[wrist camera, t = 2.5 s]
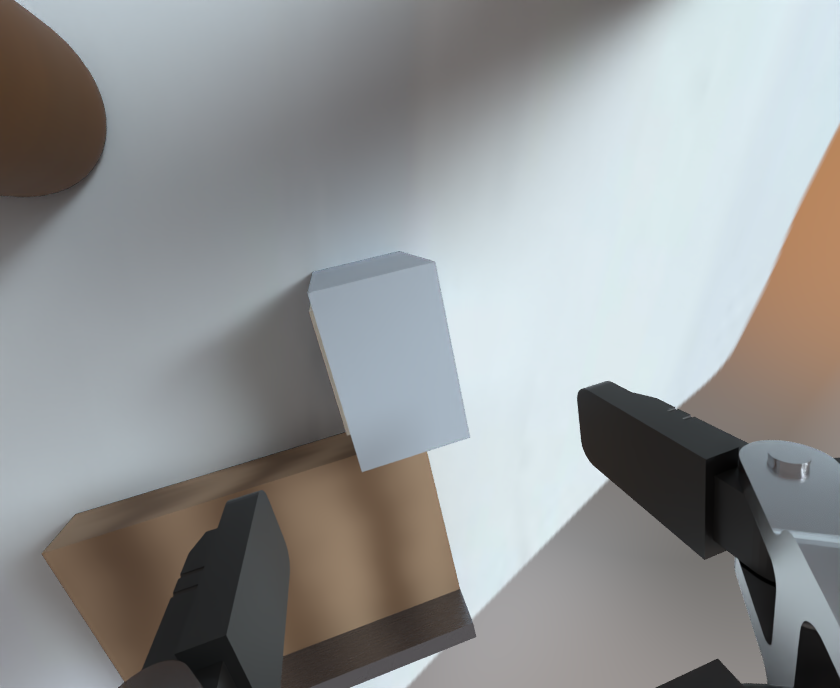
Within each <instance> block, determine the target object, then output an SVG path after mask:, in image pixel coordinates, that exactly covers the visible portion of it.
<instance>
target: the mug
mask: <svg viewBox="0 0 840 688" xmlns="http://www.w3.org/2000/svg"><path fill="white" fill-rule="evenodd" d="M105 139H106V115H105V109H104V104H103V101H102V98H101V94H100V92H99V90H98V87H97V85H96V83H95V81H94V79H93V77H92V76H91V74H90V72H89V70H88V69H87V68H86V66H85V65H84V63H83V62H82V60H81V59H80V58H79V56H78V55H77V54H76V53H75V52H74V51H73V49H72V48H71V47H70V46H69V45H68V44H67V43H66V42H65V41H64V40H63V39H62V38H61V37H60V36H59V35H58V34H57V33H56V32H54V31H53V30H52V29H51V28H50V27H49V26H47V25H46V24H45V23H43V22H42V21H41V20H39V19H38V18H37V17H36V16H34V15H33V14H32V13H30V12H29V11H28V10H26V9H25V8H24V7H22V6H21V5H20V4H18V3H17V2H16V1H14V0H0V196H14V197H33V196H43V195H48V194H52V193H56V192H59V191H62V190H65V189H67V188H69V187H71V186H73V185H75V184H77V183H78V182H79V181H81V180H82V179H83V178H85V177H86V176H87V175H88V174H89V173H90V171H91V170H92V169H93V168H94V166H95V165H96V163H97V162H98V160H99V158H100V156H101V153H102V151H103V147H104V144H105Z"/></svg>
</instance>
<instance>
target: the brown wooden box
mask: <svg viewBox="0 0 840 688" xmlns="http://www.w3.org/2000/svg"><path fill="white" fill-rule="evenodd" d="M260 490H263V491H264V492H265V493H266V495H267V497H268V499H269V501H270V504H271V506H272V509H273V512H274V514H275V517H276V519H277V522H278V524H279V527H280V529H281V532H282V535H283V537H284V540H285V542H286V546H287V549H288V554H289V561H290V578H289V590H288V602H287V614H286V626H285V638H284V650H283V662H282V674H281V686H280V688H350V687H353V686H355V685H358V684H360V683H363V682H365V681H368V680H370V679H373V678H375V677H378V676H380V675H383V674H385V673H388V672H390V671H392V670H395V669H397V668H400V667H402V666H405V665H407V664H410V663H412V662H415V661H417V660H420V659H422V658H425V657H427V656H430V655H432V654H435V653H437V652H440V651H442V650H445V649H447V648H450V647H452V646H455V645H457V644H459V643H462V642H464V641H467V640H470V639H472V638H475V637H476V634H475V630H474V625H473V622H472V619H471V617H470V614H469V611H468V609H467V606H466V603H465V601H464V598H463V596H462V593H461V590H460V587H459V583H458V579H457V575H456V570H455V566H454V562H453V558H452V554H451V550H450V545H449V541H448V537H447V533H446V529H445V525H444V521H443V516H442V512H441V508H440V504H439V500H438V496H437V491H436V487H435V483H434V479H433V475H432V471H431V467H430V462H429V458H428V454H427V451H426V452H423V453H420V454H417V455H414V456H411V457H408V458H405V459H401V460H398V461H395V462H392V463H389V464H386V465H383V466H380V467H377V468H373V469H370V470H367V471H364V472H362V471H361V467H360V464H359V461H358V457H357V454H356V451H355V448H354V444H353V441H352V438H351V435H347V434H346V432H345V433H341V434H338V435H335V436H331V437H328V438H325V439H322V440H318V441H315V442H312V443H308V444H305V445H302V446H299V447H295V448H292V449H289V450H285V451H282V452H279V453H276V454H272V455H269V456H266V457H262V458H259V459H256V460H252V461H249V462H246V463H243V464H239V465H236V466H233V467H229V468H226V469H223V470H220V471H216V472H213V473H210V474H206V475H203V476H200V477H197V478H193V479H190V480H187V481H183V482H180V483H177V484H174V485H170V486H167V487H164V488H160V489H157V490H154V491H151V492H147V493H144V494H141V495H137V496H134V497H131V498H128V499H124V500H121V501H118V502H114V503H111V504H108V505H105V506H101V507H98V508H95V509H91V510H88V511H85V512H82V513H78V514H75V516H74V517H73V518H72V519H71V520H70V521H69V523H68V524H67V525H66V526H65V527H64V528H63V529H62V531H61V532H60V533H59V534H58V535H57V536H56V538H55V539H54V540H53V541H52V542H51V543H50V544H49V546H48V547H47V548H46V549H45V550H44V551H43V553H42V556H43V557H44V559H45V560H46V562H47V563H48V565H49V566H50V568H51V569H52V571H53V572H54V574H55V576H56V577H57V579H58V580H59V582H60V583H61V585H62V586H63V588H64V589H65V591H66V592H67V594H68V596H69V597H70V599H71V600H72V602H73V603H74V605H75V606H76V608H77V609H78V611H79V612H80V614H81V615H82V617H83V619H84V620H85V622H86V623H87V625H88V626H89V628H90V629H91V631H92V632H93V634H94V635H95V637H96V639H97V640H98V642H99V643H100V645H101V646H102V648H103V649H104V651H105V652H106V654H107V655H108V657H109V659H110V660H111V662H112V663H113V665H114V666H115V668H116V669H117V671H118V672H119V674H120V675H121V677H122V679H123V680H124V682H126V681H127V680H128V679H129V678H131V677H132V676H134V675H135V674H137V673H138V672H140V671H141V670H142V668H143V665H144V663H145V660H146V658H147V655H148V653H149V650H150V648H151V645H152V643H153V640H154V638H155V635H156V633H157V630H158V628H159V625H160V623H161V620H162V618H163V616H164V613H165V611H166V608H167V606H168V603H169V601H170V598H171V597H173V591H174V588H175V586H176V583H177V581H178V579H179V578H181V576H180V573H181V571H182V569H183V566H184V564H185V561H186V559H187V556H188V554H189V552H190V551H191V550H192V548H193V547H194V546H195V545H196V543H197V542H198V541H199V540H200V539H201V537H202V536H203V535H204V534H205V532H207V531H210V530H213V529H216V528H218V525H219V522H220V519H221V516H222V513H223V510H224V507H225V504H226V502H227V501H228V500H231V499H234V498H238V497H241V496H244V495H247V494H250V493H253V492H256V491H260Z"/></svg>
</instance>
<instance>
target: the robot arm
mask: <svg viewBox="0 0 840 688" xmlns="http://www.w3.org/2000/svg"><path fill="white" fill-rule="evenodd" d="M577 402H578V412H579V423H580V433H581V442H582V447H583V450H584V452H585V454H586V456H587V458H588V459H589V461H590V462H591V463H592V465H594V466H595V467H596V468H597V469H598V470H599V471H600V472H602V473H603V474H604V475H605V476H606V477H608V478H609V479H610V480H611V481H612V482H613V483H615V484H616V485H617V486H618V487H620V488H621V489H622V490H623V491H624V492H625V493H626V494H628V495H629V496H630V497H631V498H632V499H633V500H635V501H636V502H637V503H638V504H639V505H641V506H642V507H643V508H644V509H645V510H647V511H648V512H649V513H650V514H651V515H652V516H654V517H655V518H656V519H657V520H658V521H659V522H661V523H662V524H663V525H664V526H665V527H666V528H668V529H669V530H670V531H671V532H672V533H674V534H675V535H676V536H677V537H678V538H680V539H681V540H682V541H683V542H684V543H685V544H686V545H688V546H689V547H690V548H691V549H692V550H694V551H695V552H696V553H697V554H698V555H699V556H701V557H702V558H703V559H704V560H705V559H708V558H710V557H712V556H715V555H717V554H719V553H722V552H724V551H728V552H730V553H731V554H732V555H733V556H735V565H734V568H735V573H736V576H737V579H738V583H739V586H740V589H741V592H742V595H743V598H744V601H745V604H746V608H747V611H748V614H749V617H750V620H751V623H752V627H753V630H754V633H755V636H756V639H757V643H758V646H759V649H760V652H761V655H762V658H763V662H764V667H765V671H766V677H767V684H752V683H744V684H741V683H740V682H739V681H738V680H737V679H736V678H735V676H734V675H733V674H732V673H731V672H730V671H729V670H728V669H727V668H726V667H725V666H724V665H723V664H722V663H721V661H720V660H719V659H716V660H714V661H711V662H710V663H707V664H705V665H703V666H701V667H699V668H697V669H694V670H692V671H690V672H688V673H686V674H684V675H682V676H680V677H677V678H675V679H673V680H671V681H669V682H667V683H665V684H663V685H660V686H658V687H656V688H840V458H832V457H831V456H829V455H827V454H826V453H824V452H822V451H820V450H817V449H815V448H812V447H809V446H806V445H802V444H798V443H794V442H788V441H780V440H763V441H756V442H752V443H747V442H745V441H743V440H741V439H738V438H736V437H734V436H732V435H730V434H728V433H726V432H724V431H722V430H720V429H718V428H716V427H714V426H712V425H710V424H708V423H706V422H704V421H702V420H700V419H698V418H696V417H691V416H690V414H688V413H686V412H683V411H681V410H679V409H677V410H676V409H675V407H673V406H671V405H669V404H667V403H665V402H663V401H661V400H659V399H657V398H654V397H649V396H645V395H641V394H637V393H632V392H630V391H628V390H626V389H624V388H622V387H620V386H618V385H616V384H615V383H613V382H610V381H605V382H602V383H599V384H596V385H593V386H590V387H587V388H583V389H581V390H580V391H579V392H578V395H577ZM180 576H181V578H179V579H178V581H177V583H176V586H175V588H174V591H173V597H171V598H170V601H169V603H168V606H167V608H166V611H165V613H164V616H163V618H162V620H161V623H160V625H159V628H158V630H157V633H156V635H155V638H154V640H153V643H152V645H151V648H150V650H149V653H148V655H147V658H146V660H145V663H144V665H143V668H142V670H141V671H140V672H138V673H137V674H135V675H134V676H132V677H131V678H129V679H128V680H127V681H126V682H124V683H123V684H122V685H121V686H120V687H118V688H280V686H281V674H282V662H283V650H284V638H285V626H286V614H287V602H288V590H289V578H290V561H289V554H288V549H287V546H286V542H285V540H284V537H283V535H282V532H281V529H280V527H279V524H278V522H277V519H276V517H275V514H274V512H273V509H272V506H271V504H270V501H269V499H268V497H267V495H266V493H265V492H264V491H263V490H260V491H256V492H253V493H250V494H247V495H244V496H241V497H238V498H234V499H231V500H228V501H227V502H226V504H225V507H224V510H223V513H222V516H221V519H220V522H219V525H218V528H216V529H213V530H210V531H207V532H205V534H204V535H203V536H202V537H201V539H200V540H199V541H198V542H197V543H196V545H195V546H194V547H193V548H192V550H191V551H190V552H189V554H188V556H187V559H186V561H185V564H184V566H183V569H182V571H181V573H180Z"/></svg>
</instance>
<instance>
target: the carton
mask: <svg viewBox="0 0 840 688" xmlns="http://www.w3.org/2000/svg"><path fill="white" fill-rule="evenodd" d="M308 297H309V300H310V308H309V314H310V318H311V321H312V324H313V327H314V330H315V334H316V337H317V340H318V343H319V347H320V350H321V353H322V356H323V360H324V363H325V366H326V369H327V373H328V376H329V379H330V382H331V386H332V389H333V392H334V395H335V399H336V402H337V405H338V408H339V412H340V415H341V418H342V421H343V425H344V428H345V431H346V434H347V435H351V438H352V441H353V444H354V448H355V451H356V454H357V457H358V461H359V464H360V467H361V471H362V472H364V471H367V470H370V469H373V468H377V467H380V466H383V465H386V464H389V463H392V462H395V461H398V460H401V459H405V458H408V457H411V456H414V455H417V454H420V453H423V452H426V451H430V450H433V449H436V448H439V447H442V446H445V445H448V444H451V443H454V442H458V441H461V440H464V439H467V438H470V435H469V429H468V424H467V419H466V414H465V409H464V404H463V399H462V394H461V389H460V384H459V379H458V374H457V369H456V364H455V359H454V354H453V349H452V344H451V339H450V334H449V329H448V324H447V319H446V314H445V309H444V304H443V299H442V294H441V289H440V284H439V279H438V274H437V269H436V264H435V261H431V260H428V259H424V258H421V257H417V256H414V255H411V254H407V253H404V252H400V251H398V252H394V253H390V254H386V255H381V256H377V257H373V258H369V259H365V260H361V261H356V262H352V263H348V264H344V265H340V266H336V267H331V268H327V269H323V270H319V271H315V272H313V273H312V277H311V281H310V285H309V289H308Z"/></svg>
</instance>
